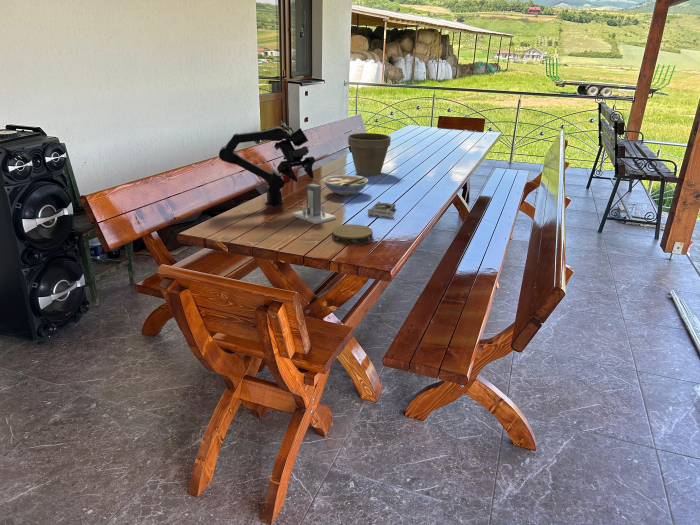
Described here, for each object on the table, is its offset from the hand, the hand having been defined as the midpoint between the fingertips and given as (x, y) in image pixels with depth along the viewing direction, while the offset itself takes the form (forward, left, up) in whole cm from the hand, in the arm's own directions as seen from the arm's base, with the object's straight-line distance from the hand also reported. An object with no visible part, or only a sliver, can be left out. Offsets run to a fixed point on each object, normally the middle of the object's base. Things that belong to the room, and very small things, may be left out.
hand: (305, 179), depth 235 cm
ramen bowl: (0, +33, -14) cm, 36 cm away
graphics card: (+32, +17, -14) cm, 39 cm away
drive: (+11, -8, -12) cm, 18 cm away
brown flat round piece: (+39, -20, -14) cm, 46 cm away
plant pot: (-16, +81, -14) cm, 84 cm away
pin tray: (+11, -8, -14) cm, 19 cm away
